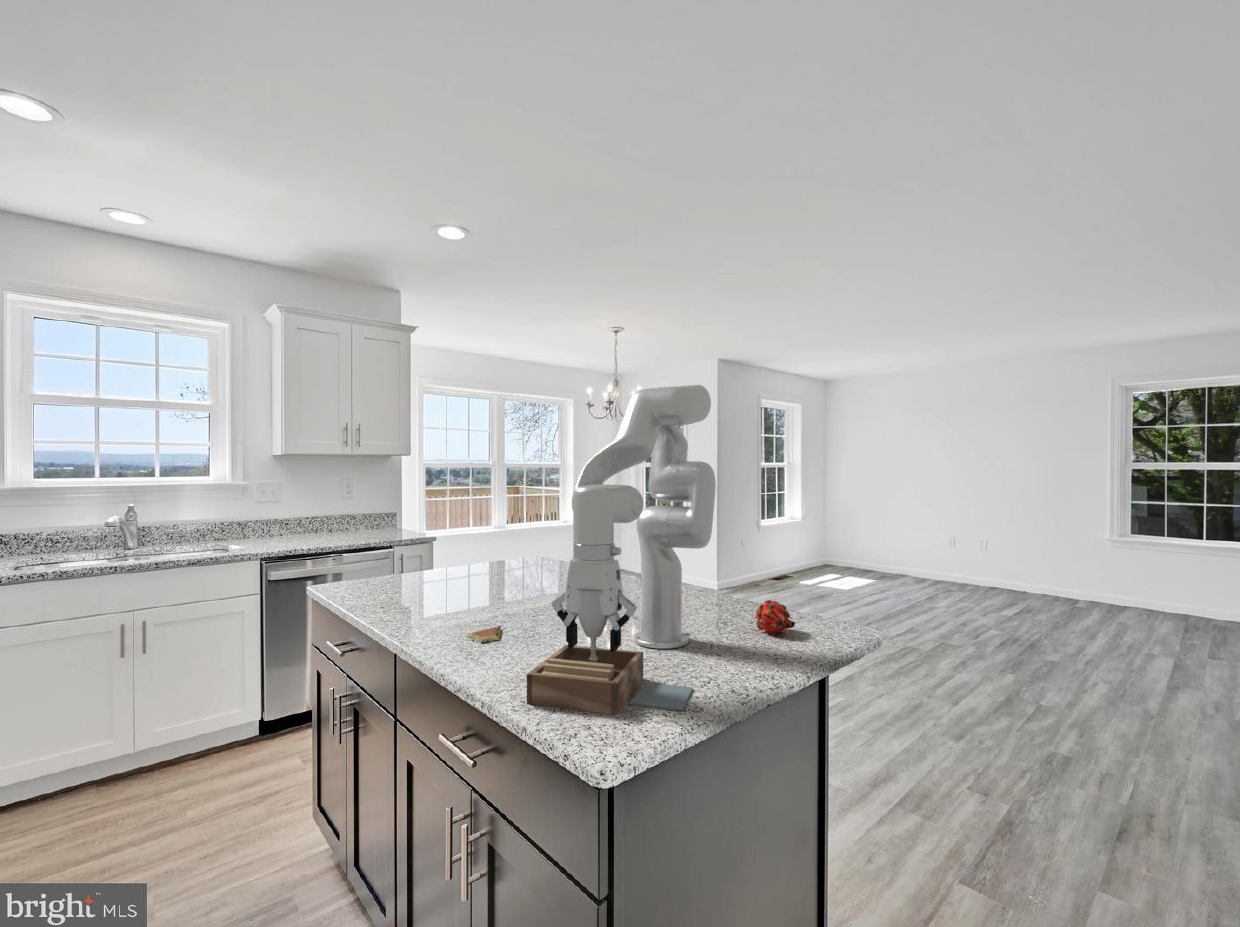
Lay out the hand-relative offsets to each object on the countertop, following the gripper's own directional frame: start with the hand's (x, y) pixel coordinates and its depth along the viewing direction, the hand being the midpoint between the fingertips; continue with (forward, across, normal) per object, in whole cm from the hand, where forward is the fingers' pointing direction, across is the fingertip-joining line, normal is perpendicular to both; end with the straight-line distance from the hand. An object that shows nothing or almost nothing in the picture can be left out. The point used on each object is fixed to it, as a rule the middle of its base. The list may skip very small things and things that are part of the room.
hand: (593, 647), depth 108 cm
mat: (+7, -14, +2) cm, 15 cm away
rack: (+7, 0, +3) cm, 7 cm away
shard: (+8, +36, -23) cm, 43 cm away
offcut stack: (+7, 0, +8) cm, 11 cm away
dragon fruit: (+7, -31, -46) cm, 56 cm away
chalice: (+7, 0, 0) cm, 7 cm away
